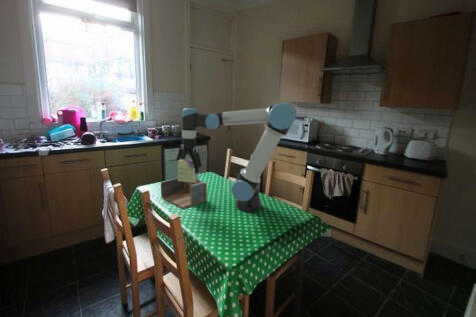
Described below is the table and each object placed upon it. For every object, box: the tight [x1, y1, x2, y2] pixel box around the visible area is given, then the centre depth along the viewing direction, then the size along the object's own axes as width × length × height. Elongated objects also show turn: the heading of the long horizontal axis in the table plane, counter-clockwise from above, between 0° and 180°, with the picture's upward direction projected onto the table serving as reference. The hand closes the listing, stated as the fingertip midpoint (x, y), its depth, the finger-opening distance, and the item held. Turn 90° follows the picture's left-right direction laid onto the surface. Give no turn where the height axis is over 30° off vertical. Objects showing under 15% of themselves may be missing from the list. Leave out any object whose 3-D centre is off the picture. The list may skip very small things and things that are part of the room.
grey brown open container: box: [160, 177, 208, 210], centre depth 156 cm, size 22×18×12 cm
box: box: [177, 158, 200, 183], centre depth 141 cm, size 10×6×12 cm, turn 86°
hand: (188, 176), depth 142 cm, fingers closed on box, 11 cm apart
